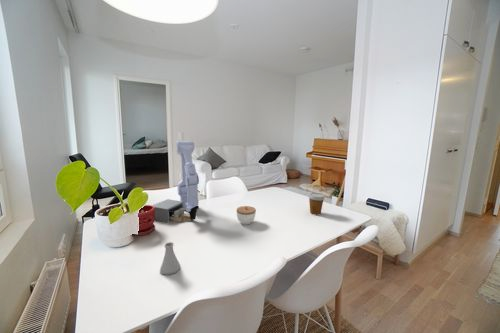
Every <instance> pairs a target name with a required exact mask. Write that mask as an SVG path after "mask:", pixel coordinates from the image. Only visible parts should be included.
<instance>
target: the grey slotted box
mask: <svg viewBox="0 0 500 333" xmlns="http://www.w3.org/2000/svg"><path fill="white" fill-rule="evenodd" d="M151 206H154V207H155V221H156V220H157V221H160V222H165V223H166V222H167V223H169V222H170V213H174V211H175V210H179V208H184V205H183V202H182V201H180V200H174V199H169V198H167V199H165V200H161V201H160V202H157V203H155V204H153V205H151ZM169 211H171V212H169Z"/></svg>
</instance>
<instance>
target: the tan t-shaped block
mask: <svg viewBox="0 0 500 333" xmlns="http://www.w3.org/2000/svg"><path fill="white" fill-rule="evenodd" d="M169 221H175V222H178V223H179V222H182V221H187V222H190V221H192V220H191V218H190V214H189V213H185V210H184V208H179V210H175V211H174V212H173V214H172V215H171V216H169Z"/></svg>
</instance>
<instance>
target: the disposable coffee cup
mask: <svg viewBox="0 0 500 333" xmlns="http://www.w3.org/2000/svg"><path fill="white" fill-rule="evenodd" d="M308 199H309V201H308V202H309V212H310V214H311V215H313V214H316V215H315V216H319V215H318V214H320V215H321V213H322V210H323V203H324V200H325V195H324V194H322V193H316V192H311V193H309V195H308Z"/></svg>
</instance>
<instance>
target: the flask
mask: <svg viewBox="0 0 500 333" xmlns="http://www.w3.org/2000/svg"><path fill="white" fill-rule="evenodd" d="M174 245H175V244H174V242H171V241H169V242H165V243H164V248H165V250H164V251H165V252H164V256H163V259H162V263H161V265H160V269H159V274H162V275H167V276H168V275H173V274H176V273H177V272H178V271H179V270H180V269H181V264H180V262H179V260H178V257H177V256H176V254H175V252H174Z"/></svg>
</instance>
